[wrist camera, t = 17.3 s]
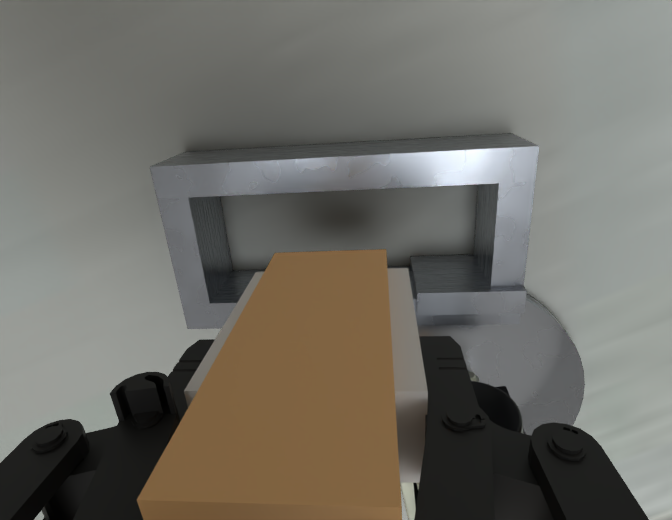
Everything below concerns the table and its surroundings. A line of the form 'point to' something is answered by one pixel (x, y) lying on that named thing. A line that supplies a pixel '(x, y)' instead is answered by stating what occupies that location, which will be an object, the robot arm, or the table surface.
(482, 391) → the pneumatic valve
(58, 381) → the table surface
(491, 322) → the grey rectangular frame
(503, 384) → the grey disc
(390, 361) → the tan rectangular block
